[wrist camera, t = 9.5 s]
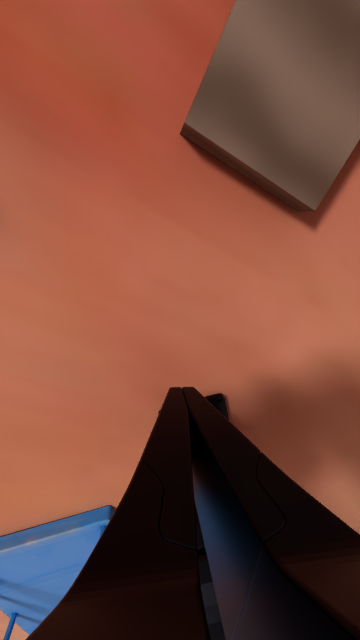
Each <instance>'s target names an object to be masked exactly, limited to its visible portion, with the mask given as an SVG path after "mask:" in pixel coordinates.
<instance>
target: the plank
mask: <svg viewBox="0 0 360 640" xmlns="http://www.w3.org/2000/svg"><path fill="white" fill-rule="evenodd" d="M180 134H181V135H183V136H184V137H186V138H187V139H189V140H190V141H192V142H193V143H195V144H196V145H198V146H199V147H201V148H202V149H204V150H205V151H207V152H208V153H210V154H212V155H213V156H215V157H216V158H218V159H219V160H221V161H222V162H224V163H225V164H227V165H228V166H230V167H231V168H233V169H234V170H236V171H237V172H239V173H240V174H242V175H243V176H245V177H246V178H248V179H250V180H251V181H253V182H254V183H256V184H257V185H259V186H260V187H262V188H263V189H265V190H266V191H268V192H269V193H271V194H272V195H274V196H275V197H277V198H278V199H280V200H281V201H283V202H285V203H286V204H288V205H289V206H291V207H292V208H294V209H295V210H297V211H298V212H301V211H315V210H316V209H317V207H318V206H319V204H320V202H321V201H322V199H323V198H324V196H325V194H326V193H327V191H328V190H329V188H330V186H331V185H332V183H333V181H334V180H335V178H336V177H337V175H338V173H339V172H340V170H341V169H342V167H343V165H344V164H345V162H346V161H347V159H348V157H349V156H350V154H351V152H352V151H353V149H354V148H355V146H356V144H357V143H358V141H359V140H360V0H236V1H235V4H234V6H233V8H232V11H231V13H230V16H229V18H228V20H227V23H226V25H225V27H224V30H223V32H222V35H221V37H220V39H219V42H218V44H217V47H216V49H215V51H214V54H213V56H212V58H211V61H210V63H209V66H208V68H207V70H206V73H205V75H204V77H203V80H202V82H201V85H200V87H199V89H198V92H197V94H196V97H195V99H194V101H193V104H192V106H191V108H190V111H189V113H188V116H187V118H186V120H185V123H184V125H183V128H182V130H181V133H180Z"/></svg>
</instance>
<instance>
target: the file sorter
mask: <svg viewBox="0 0 360 640" xmlns="http://www.w3.org/2000/svg"><path fill="white" fill-rule="evenodd" d="M113 514H114V510H113V508H112V507H111V506H105V507H101V508H98V509H95V510H92V511H88V512H85V513H82V514H78V515H75V516H71V517H68V518H64V519H61V520H57V521H54V522H51V523H47V524H44V525H40V526H37V527H34V528H30V529H27V530H23V531H20V532H16V533H13V534H9V535H6V536H2V537H0V610H1V611H3V612H4V613H5V614H6V615H7V616H8V617H10V618H11V619H10V622H9V625H8V628H7V630H6V633H5V636H4V639H3V640H9V638H10V635H11V632H12V629H13V626H14V623H16V624H18V625H19V626H20V627H21V628H22V629H23V630H24V631H26V632H27V633H28V634H29V635H30V634H31V633H32V632H33V631H34V630H35V629H36V628H37V627H38V626H39V624H40V623H41V622H42V621H43V620H44V619H45V618H46V617H47V616H48V615H49V614H50V613H51V611H52V610H53V609H54V608H55V607H56V606H57V605H58V603H59V602H60V601H61V600H62V598H63V597H64V596H65V594H66V593H67V591H68V590H69V589H70V587H71V586H72V584H73V583H74V581H75V579H76V578H77V576H78V575H79V573H80V571H81V570H82V568H83V566H84V565H85V563H86V561H87V560H88V558H89V556H90V554H91V553H92V551H93V549H94V547H95V546H96V544H97V542H98V540H99V539H100V537H101V535H102V533H103V532H104V530H105V528H106V526H107V525H108V523H109V521H110V519H111V518H112V516H113Z"/></svg>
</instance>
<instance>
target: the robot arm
mask: <svg viewBox="0 0 360 640" xmlns="http://www.w3.org/2000/svg"><path fill="white" fill-rule="evenodd" d="M219 398H220V399H219ZM217 399H219V400H217ZM26 640H360V534H358V533H357V532H356V531H354V530H353V529H352V528H351V527H349V526H348V525H347V524H346V523H345V522H343V521H342V520H341V519H340V518H338V517H337V516H336V515H335V514H333V513H332V512H331V511H330V510H328V509H327V508H326V507H325V506H323V505H322V504H321V503H320V502H319V501H317V500H316V499H315V498H314V497H312V496H311V495H310V494H309V493H307V492H306V491H305V490H304V489H303V488H301V487H300V486H299V485H298V484H297V483H295V482H294V481H293V480H292V479H291V478H289V477H288V476H287V475H286V474H285V473H284V472H283V471H282V470H281V469H279V468H278V467H277V466H276V465H275V464H274V463H273V462H272V461H271V460H270V459H269V458H268V457H267V456H265V455H264V454H263V453H262V452H261V453H260V450H259V449H258V448H257V447H256V446H255V445H254V444H253V443H252V442H251V441H250V440H249V439H248V438H246V437H245V436H244V435H243V434H242V433H241V432H240V431H239V430H238V429H237V428H236V427H235V426H234V425H233V424H232V423H231V422H230V421H229V418H228V413H227V408H226V404H225V399H224V397H223V395H222V394H220V393H218V394H214V395H211V396H207V397H204V396H202V395H201V394H200V393H199V392H198V391H197V390H196V389H195V388H194V387H183V388H181V387H171V388H170V389H169V391H168V393H167V396H166V398H165V400H164V403H163V405H162V408H161V410H160V411H159V415H158V417H157V420H156V422H155V425H154V427H153V430H152V432H151V434H150V437H149V439H148V442H147V444H146V447H145V449H144V451H143V454H142V456H141V459H140V461H139V463H138V466H137V468H136V470H135V473H134V475H133V477H132V479H131V481H130V484H129V486H128V488H127V490H126V492H125V494H124V496H123V498H122V500H121V501H120V503H119V505H118V507H117V509H116V511H115V512H114V514H113V516H112V518H111V519H110V521H109V523H108V525H107V526H106V528H105V530H104V532H103V533H102V535H101V537H100V539H99V540H98V542H97V544H96V546H95V547H94V549H93V551H92V553H91V554H90V556H89V558H88V560H87V561H86V563H85V565H84V566H83V568H82V570H81V571H80V573H79V575H78V576H77V578H76V579H75V581H74V583H73V584H72V586H71V587H70V589H69V590H68V591H67V593H66V594H65V596H64V597H63V598H62V600H61V601H60V602H59V603H58V605H57V606H56V607H55V608H54V609H53V610H52V611H51V613H50V614H49V615H48V616H47V617H46V618H45V619H44V620H43V621H42V622H41V623H40V624H39V626H38V627H37V628H36V629H35V630H34V631H33V632H32V633H31V634H30V635H29V636H28V637H27V639H26Z"/></svg>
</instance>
